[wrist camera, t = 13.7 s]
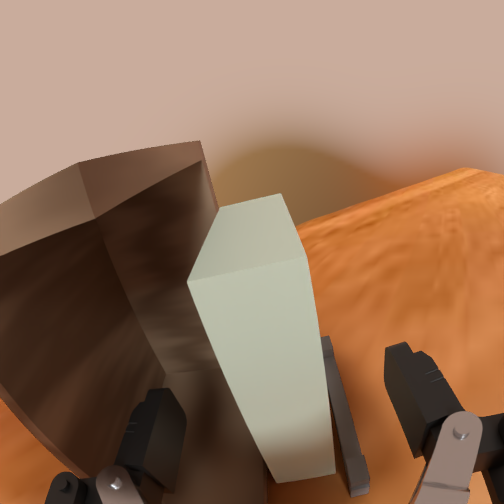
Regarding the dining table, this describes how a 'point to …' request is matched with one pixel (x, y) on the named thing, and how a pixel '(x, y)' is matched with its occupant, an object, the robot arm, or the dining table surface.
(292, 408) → the door
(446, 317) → the dining table surface
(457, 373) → the dining table surface
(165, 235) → the cabinet
